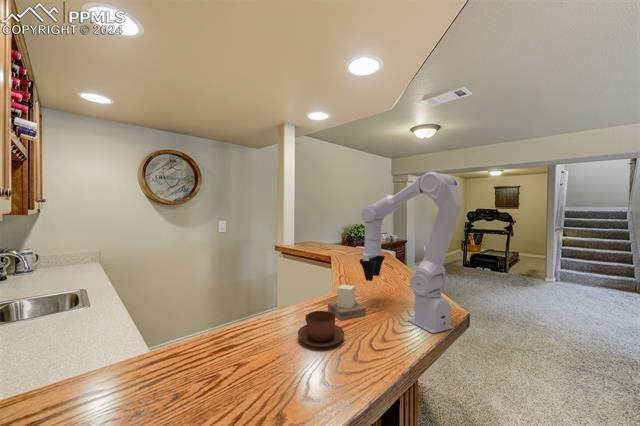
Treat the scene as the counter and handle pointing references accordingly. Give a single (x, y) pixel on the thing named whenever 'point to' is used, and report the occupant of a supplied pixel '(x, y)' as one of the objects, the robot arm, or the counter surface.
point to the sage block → (346, 296)
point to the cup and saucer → (320, 330)
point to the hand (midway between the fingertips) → (372, 277)
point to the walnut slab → (347, 311)
